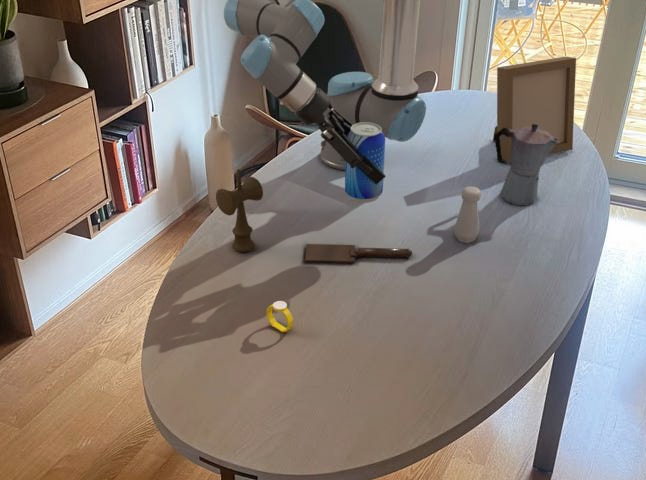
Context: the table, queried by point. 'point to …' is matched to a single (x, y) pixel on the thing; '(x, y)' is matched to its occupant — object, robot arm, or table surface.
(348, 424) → the table surface
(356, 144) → the beer can
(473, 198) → the salt shaker
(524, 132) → the moka pot
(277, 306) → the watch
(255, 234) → the table surface
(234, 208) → the kendama
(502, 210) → the table surface
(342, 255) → the spatula
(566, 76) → the photo frame
